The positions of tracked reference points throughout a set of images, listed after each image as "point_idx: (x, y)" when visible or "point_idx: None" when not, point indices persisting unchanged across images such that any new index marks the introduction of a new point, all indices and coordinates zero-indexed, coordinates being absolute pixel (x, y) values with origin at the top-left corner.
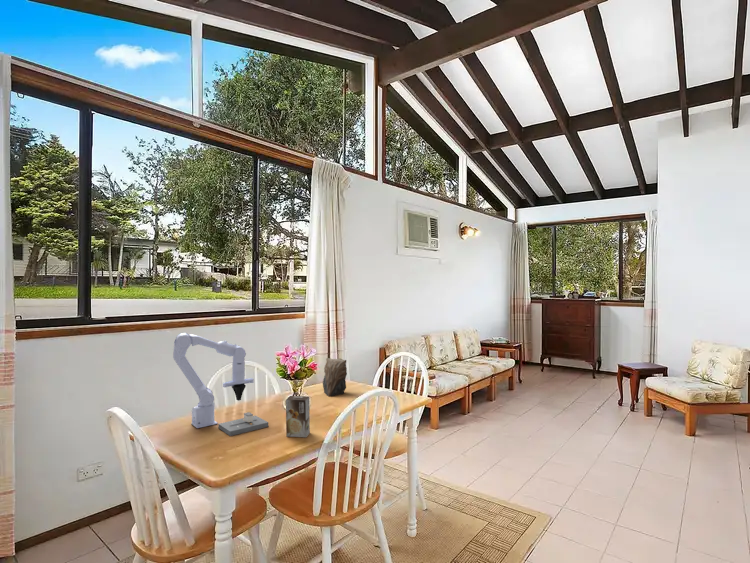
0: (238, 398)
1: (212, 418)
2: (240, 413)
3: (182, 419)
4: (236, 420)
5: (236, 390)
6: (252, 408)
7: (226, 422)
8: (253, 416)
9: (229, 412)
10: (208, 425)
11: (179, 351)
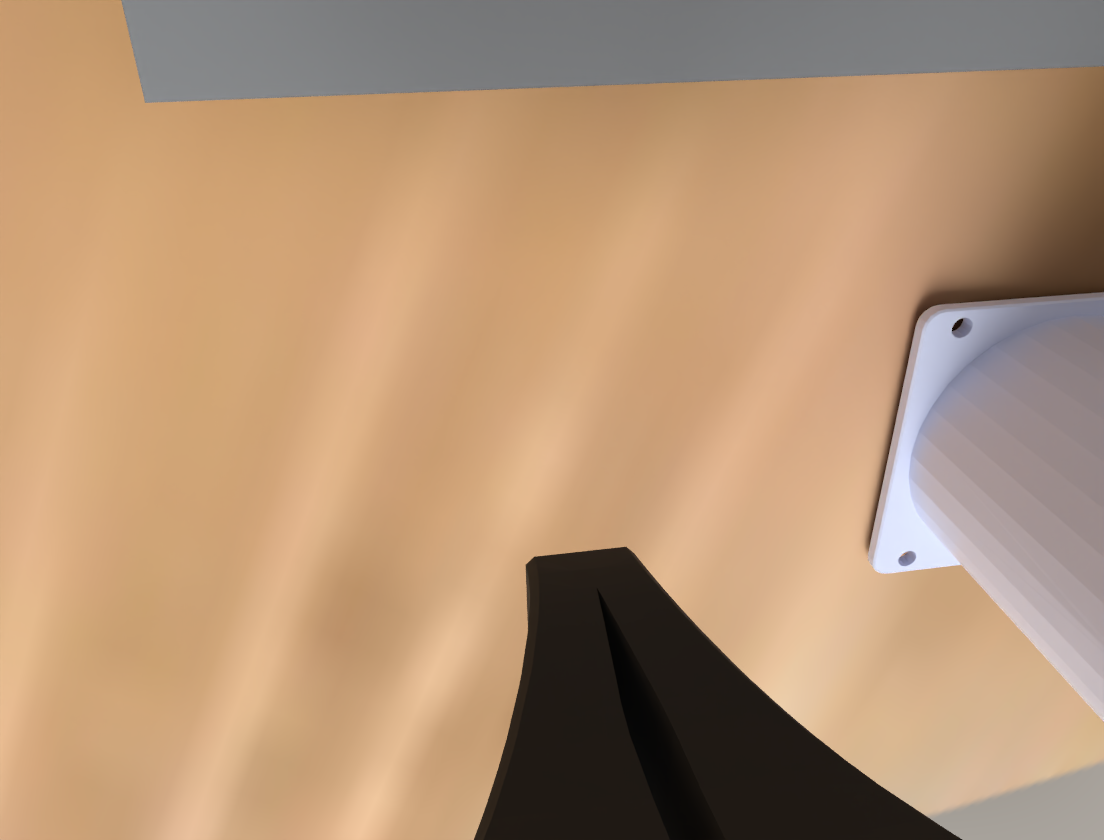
0: (649, 584)
1: (1068, 379)
2: (346, 627)
3: (1084, 745)
4: (724, 16)
5: None
6: (62, 766)
7: (962, 29)
8: (226, 40)
9: (486, 742)
10: (1090, 293)
11: None
